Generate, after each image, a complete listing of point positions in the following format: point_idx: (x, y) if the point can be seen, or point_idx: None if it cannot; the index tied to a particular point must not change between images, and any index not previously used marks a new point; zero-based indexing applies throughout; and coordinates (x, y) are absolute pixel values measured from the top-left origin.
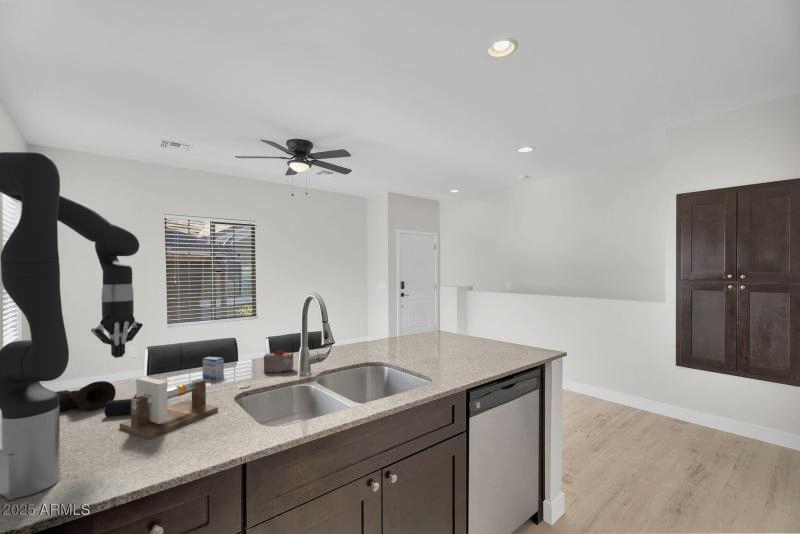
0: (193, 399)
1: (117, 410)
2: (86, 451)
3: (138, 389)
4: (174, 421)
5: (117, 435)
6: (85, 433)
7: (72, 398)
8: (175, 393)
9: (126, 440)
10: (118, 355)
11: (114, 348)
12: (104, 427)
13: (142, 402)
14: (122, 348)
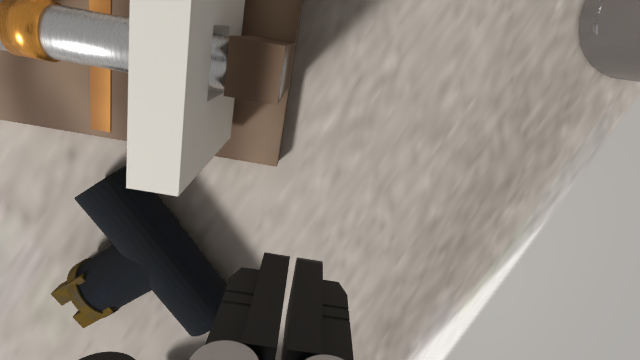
0: None
1: (211, 270)
2: (438, 90)
3: (198, 155)
4: None
5: (323, 109)
6: (341, 228)
7: None
8: (81, 9)
9: (343, 34)
10: (310, 265)
11: (341, 345)
12: (291, 216)
13: (260, 40)
14: (258, 306)
